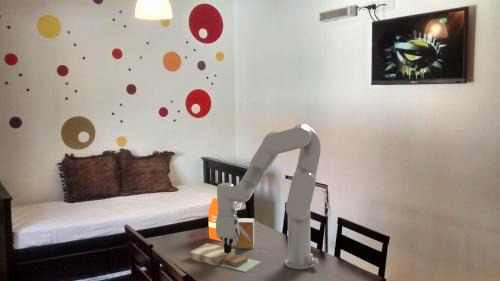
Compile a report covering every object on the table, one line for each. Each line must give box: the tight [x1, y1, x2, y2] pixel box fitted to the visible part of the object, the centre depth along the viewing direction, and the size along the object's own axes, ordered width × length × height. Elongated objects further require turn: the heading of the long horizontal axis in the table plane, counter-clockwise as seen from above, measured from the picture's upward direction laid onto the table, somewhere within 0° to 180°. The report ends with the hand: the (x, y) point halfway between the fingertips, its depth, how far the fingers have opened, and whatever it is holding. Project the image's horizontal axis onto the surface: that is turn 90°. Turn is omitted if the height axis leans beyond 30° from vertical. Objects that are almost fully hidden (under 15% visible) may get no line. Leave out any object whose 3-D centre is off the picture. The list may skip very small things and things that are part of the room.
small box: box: [236, 217, 255, 250], centre depth 223 cm, size 8×6×13 cm
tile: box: [221, 254, 249, 267], centre depth 204 cm, size 9×7×2 cm
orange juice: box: [207, 197, 222, 242], centre depth 236 cm, size 8×9×20 cm
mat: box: [219, 258, 262, 273], centre depth 203 cm, size 14×12×1 cm
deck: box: [188, 242, 237, 267], centre depth 211 cm, size 16×13×3 cm
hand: (227, 252), depth 206 cm, fingers closed
